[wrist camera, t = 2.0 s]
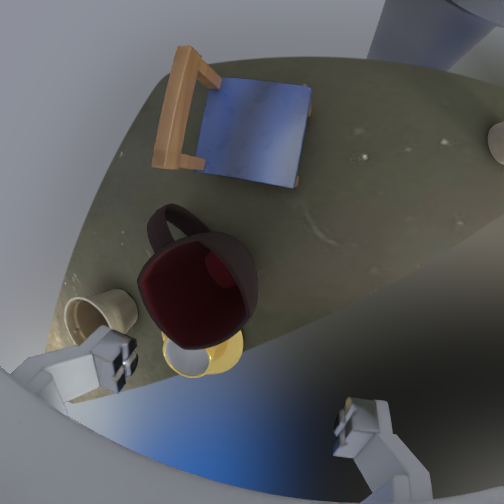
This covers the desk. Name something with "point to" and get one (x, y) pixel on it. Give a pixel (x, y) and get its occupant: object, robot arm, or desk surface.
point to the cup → (203, 357)
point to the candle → (497, 142)
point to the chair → (233, 124)
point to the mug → (196, 281)
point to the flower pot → (99, 314)
